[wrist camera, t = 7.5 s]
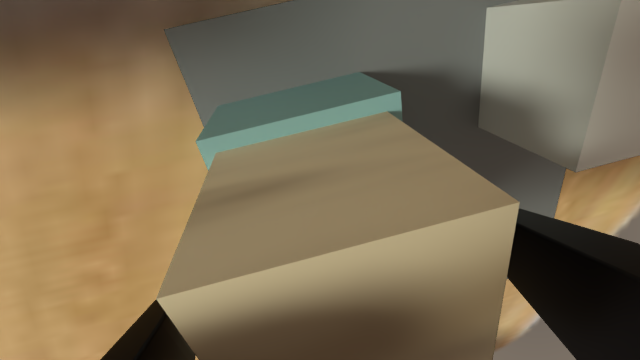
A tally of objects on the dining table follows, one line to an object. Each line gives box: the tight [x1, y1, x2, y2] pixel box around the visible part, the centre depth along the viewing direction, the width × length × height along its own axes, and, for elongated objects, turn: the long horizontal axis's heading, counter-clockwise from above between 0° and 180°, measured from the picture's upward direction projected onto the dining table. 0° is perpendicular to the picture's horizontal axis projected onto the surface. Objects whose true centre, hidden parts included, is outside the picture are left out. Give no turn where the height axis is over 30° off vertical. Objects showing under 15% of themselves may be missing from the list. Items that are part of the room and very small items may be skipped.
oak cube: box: [156, 111, 520, 360], centre depth 9 cm, size 6×6×6 cm
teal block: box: [196, 72, 403, 171], centre depth 13 cm, size 7×7×5 cm
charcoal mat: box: [164, 0, 566, 279], centre depth 18 cm, size 22×21×1 cm
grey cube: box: [478, 0, 640, 172], centre depth 13 cm, size 6×6×6 cm
